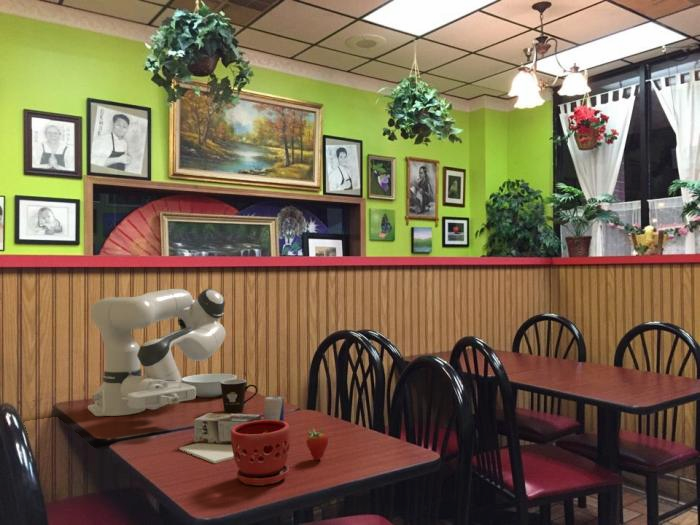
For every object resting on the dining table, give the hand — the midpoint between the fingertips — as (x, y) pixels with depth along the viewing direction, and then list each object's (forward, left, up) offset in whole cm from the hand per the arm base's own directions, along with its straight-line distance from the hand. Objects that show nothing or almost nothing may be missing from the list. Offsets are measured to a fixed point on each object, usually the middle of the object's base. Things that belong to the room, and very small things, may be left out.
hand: (174, 400), depth 173 cm
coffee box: (+11, +2, -6) cm, 13 cm away
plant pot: (+49, -5, -10) cm, 50 cm away
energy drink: (+27, +16, -10) cm, 32 cm away
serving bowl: (-43, +39, -11) cm, 59 cm away
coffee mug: (-11, +30, -10) cm, 33 cm away
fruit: (+48, +13, -10) cm, 50 cm away
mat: (+23, +1, -10) cm, 25 cm away
